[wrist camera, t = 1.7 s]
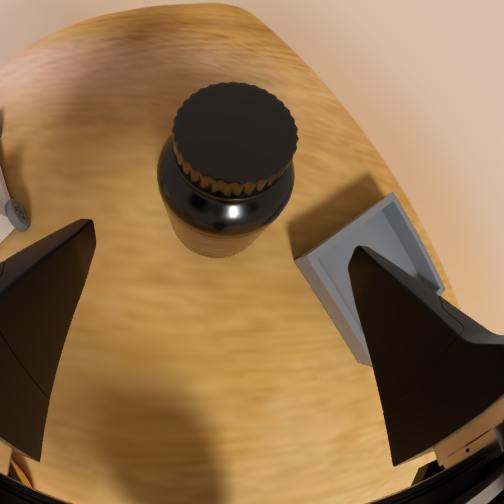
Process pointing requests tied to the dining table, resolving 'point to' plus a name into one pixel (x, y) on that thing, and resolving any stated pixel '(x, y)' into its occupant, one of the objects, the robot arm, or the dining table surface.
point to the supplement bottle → (227, 167)
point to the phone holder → (10, 212)
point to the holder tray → (340, 252)
